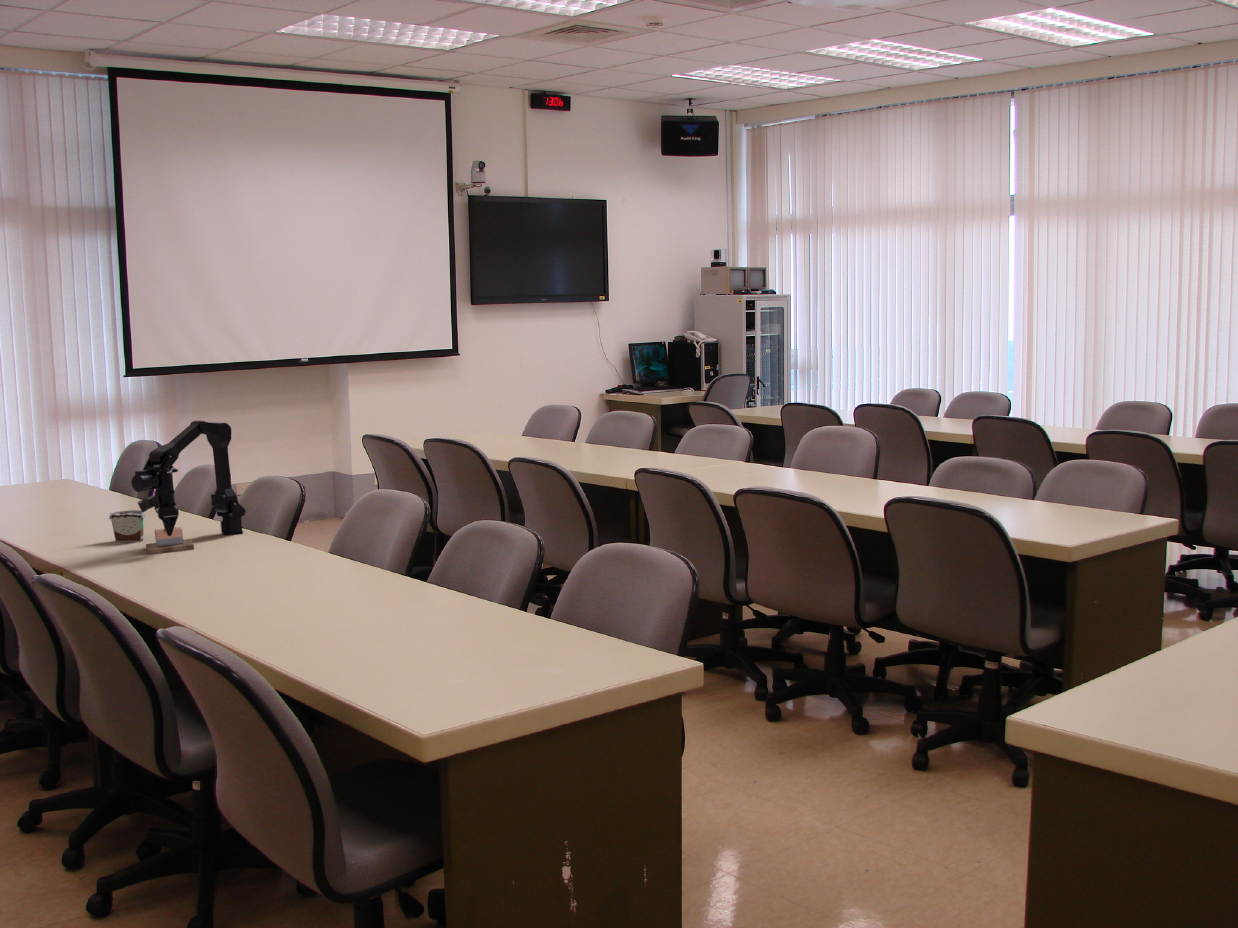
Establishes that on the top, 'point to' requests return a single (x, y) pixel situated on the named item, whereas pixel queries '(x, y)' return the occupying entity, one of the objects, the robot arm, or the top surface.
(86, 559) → the top surface
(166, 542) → the block
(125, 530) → the food container
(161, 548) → the walnut stand
